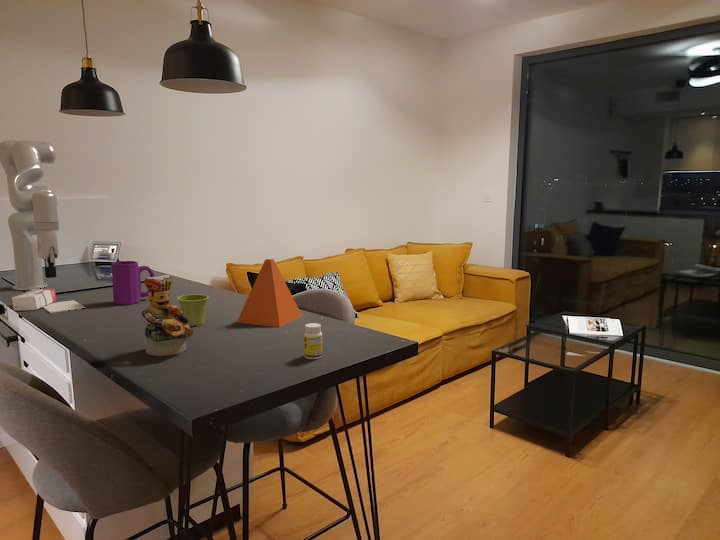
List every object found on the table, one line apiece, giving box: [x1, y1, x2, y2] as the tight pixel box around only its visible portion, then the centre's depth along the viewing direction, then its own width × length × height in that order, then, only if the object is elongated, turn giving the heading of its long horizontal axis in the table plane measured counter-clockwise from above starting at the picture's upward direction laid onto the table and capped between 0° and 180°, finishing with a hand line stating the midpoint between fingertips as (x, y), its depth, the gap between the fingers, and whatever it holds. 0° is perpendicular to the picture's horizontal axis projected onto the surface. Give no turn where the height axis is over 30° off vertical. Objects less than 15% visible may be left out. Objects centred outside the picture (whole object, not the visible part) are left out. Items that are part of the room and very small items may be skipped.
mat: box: [42, 299, 86, 314], centre depth 188 cm, size 15×11×1 cm
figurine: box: [140, 274, 194, 357], centre depth 138 cm, size 12×15×20 cm
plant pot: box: [176, 293, 209, 327], centre depth 166 cm, size 9×9×9 cm
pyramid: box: [236, 258, 303, 328], centre depth 172 cm, size 16×16×20 cm
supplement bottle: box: [303, 322, 323, 360], centre depth 135 cm, size 5×5×8 cm
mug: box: [110, 260, 156, 306], centre depth 197 cm, size 9×16×15 cm, turn 133°
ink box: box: [10, 287, 58, 312], centre depth 187 cm, size 9×5×12 cm
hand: (50, 277), depth 192 cm, fingers closed
